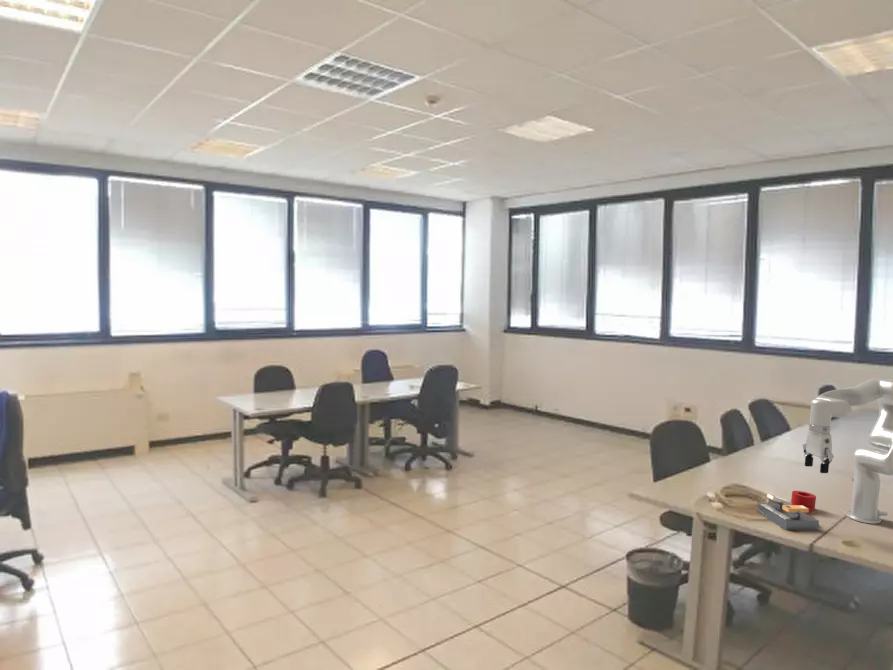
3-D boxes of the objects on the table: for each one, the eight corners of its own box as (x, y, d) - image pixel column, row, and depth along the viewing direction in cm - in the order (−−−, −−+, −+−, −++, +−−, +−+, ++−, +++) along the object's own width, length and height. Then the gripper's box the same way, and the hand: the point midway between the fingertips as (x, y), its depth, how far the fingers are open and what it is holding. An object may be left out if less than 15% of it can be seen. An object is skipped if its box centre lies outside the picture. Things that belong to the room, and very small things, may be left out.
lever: (792, 503, 281) (793, 489, 281) (815, 508, 276) (817, 494, 275) (786, 512, 267) (788, 498, 266) (810, 518, 261) (812, 503, 261)
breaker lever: (801, 509, 256) (801, 504, 256) (809, 513, 251) (809, 509, 251) (781, 509, 255) (781, 504, 255) (788, 513, 250) (789, 508, 250)
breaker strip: (786, 512, 269) (787, 500, 268) (817, 530, 249) (819, 516, 249) (756, 512, 268) (757, 499, 267) (786, 529, 248) (787, 516, 247)
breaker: (783, 503, 267) (785, 499, 267) (790, 507, 262) (792, 503, 262) (765, 496, 266) (767, 492, 266) (772, 500, 261) (774, 496, 261)
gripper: (843, 434, 243) (839, 476, 244) (813, 424, 260) (810, 463, 261) (825, 433, 242) (822, 475, 244) (797, 424, 259) (794, 463, 261)
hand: (816, 469), depth 252 cm, fingers open, 8 cm apart
